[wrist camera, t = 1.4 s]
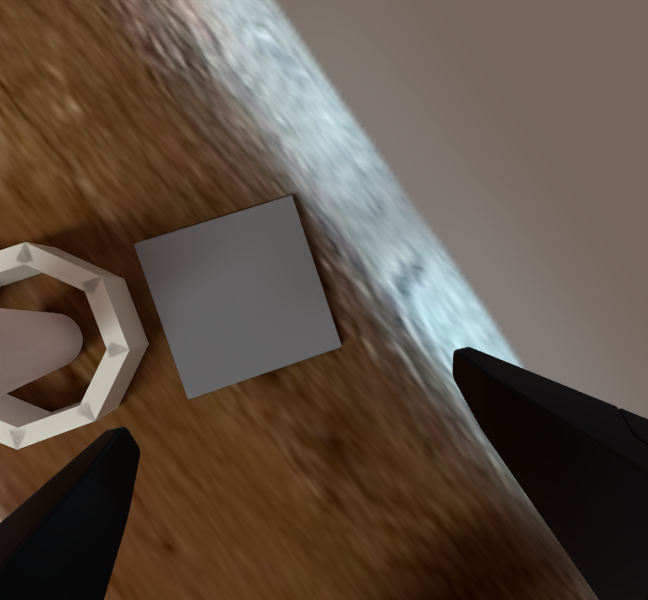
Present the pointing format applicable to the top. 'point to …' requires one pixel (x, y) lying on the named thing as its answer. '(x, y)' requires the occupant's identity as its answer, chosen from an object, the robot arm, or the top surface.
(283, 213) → the mat
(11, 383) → the smoothie
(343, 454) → the top surface
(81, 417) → the ring holder
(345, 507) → the top surface
